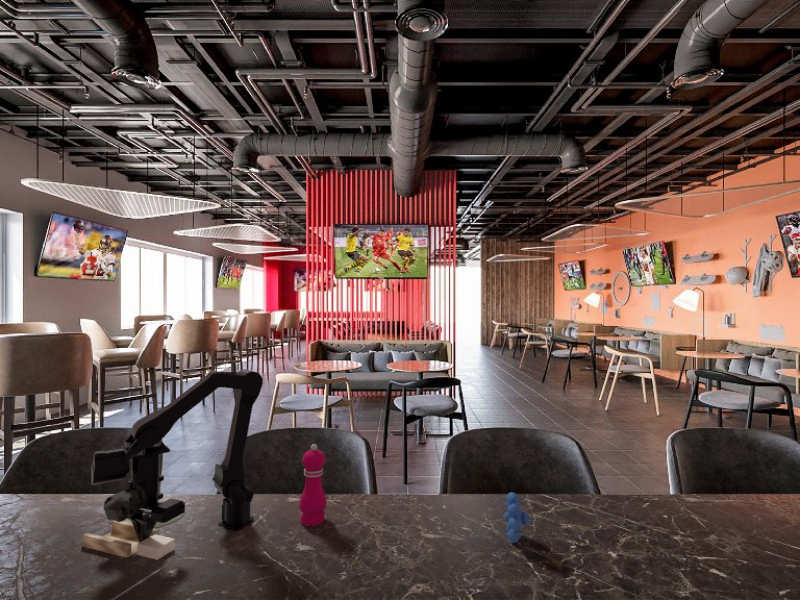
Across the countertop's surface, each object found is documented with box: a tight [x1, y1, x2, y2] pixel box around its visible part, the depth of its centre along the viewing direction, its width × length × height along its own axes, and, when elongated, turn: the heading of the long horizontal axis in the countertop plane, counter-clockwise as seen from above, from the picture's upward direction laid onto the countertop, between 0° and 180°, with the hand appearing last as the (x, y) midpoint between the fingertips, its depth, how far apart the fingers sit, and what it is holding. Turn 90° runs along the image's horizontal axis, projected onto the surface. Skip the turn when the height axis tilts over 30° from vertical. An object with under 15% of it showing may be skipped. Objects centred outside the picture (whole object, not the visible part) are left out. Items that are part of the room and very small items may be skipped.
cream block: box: [136, 534, 176, 561], centre depth 96 cm, size 6×4×3 cm
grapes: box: [502, 491, 532, 544], centre depth 103 cm, size 12×7×12 cm, turn 171°
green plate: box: [124, 512, 186, 529], centre depth 114 cm, size 14×14×1 cm
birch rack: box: [81, 520, 159, 558], centre depth 100 cm, size 14×8×3 cm, turn 71°
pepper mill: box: [298, 443, 328, 527], centre depth 113 cm, size 7×7×20 cm
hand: (143, 543), depth 98 cm, fingers closed
